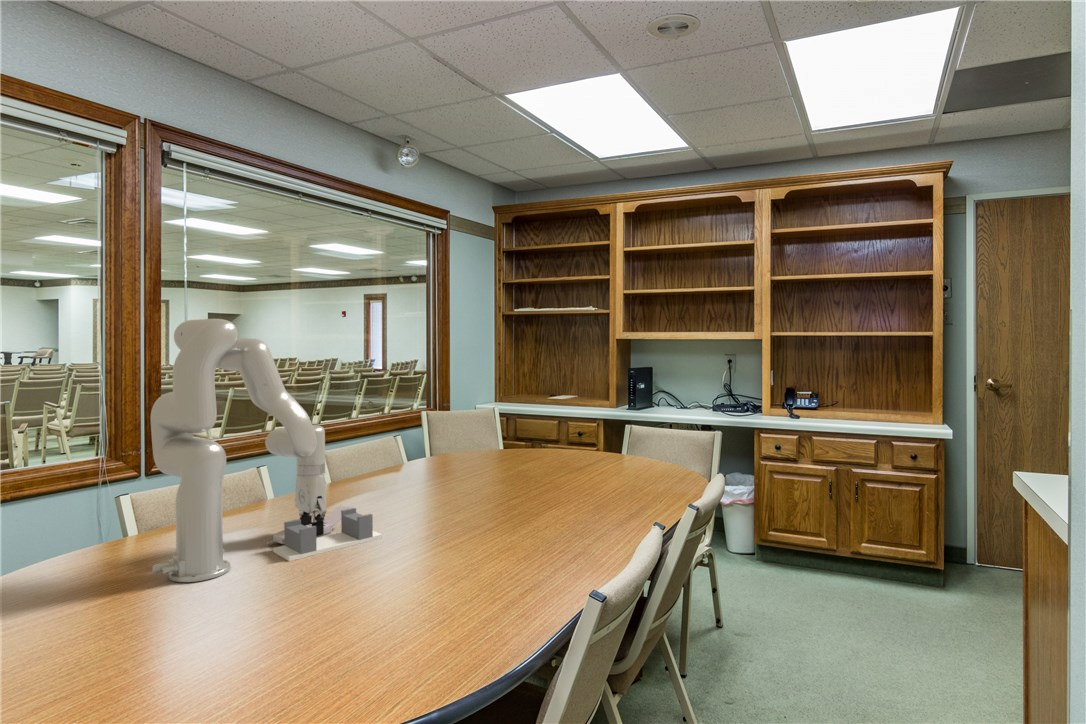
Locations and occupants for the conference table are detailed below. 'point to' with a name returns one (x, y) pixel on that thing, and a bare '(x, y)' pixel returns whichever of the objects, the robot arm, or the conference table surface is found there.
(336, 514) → the mobile phone
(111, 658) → the conference table surface
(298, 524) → the cradle stand
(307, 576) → the conference table surface
